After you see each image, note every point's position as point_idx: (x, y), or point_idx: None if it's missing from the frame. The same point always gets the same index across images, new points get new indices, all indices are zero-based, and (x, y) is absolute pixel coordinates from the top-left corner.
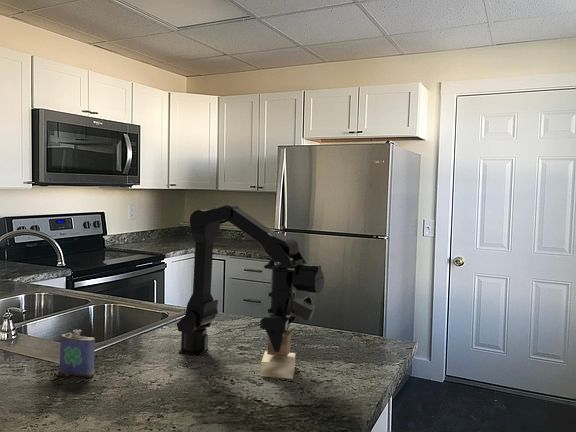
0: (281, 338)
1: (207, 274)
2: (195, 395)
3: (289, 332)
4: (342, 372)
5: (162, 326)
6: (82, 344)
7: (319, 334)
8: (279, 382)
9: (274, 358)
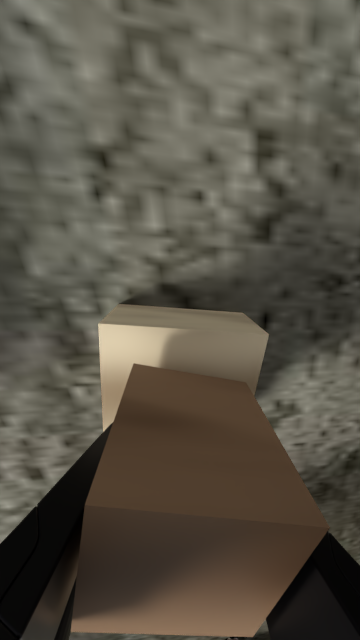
0: (344, 556)
1: None
2: (337, 517)
3: (144, 522)
4: (148, 31)
5: None
6: None
7: None
8: (276, 356)
9: None
